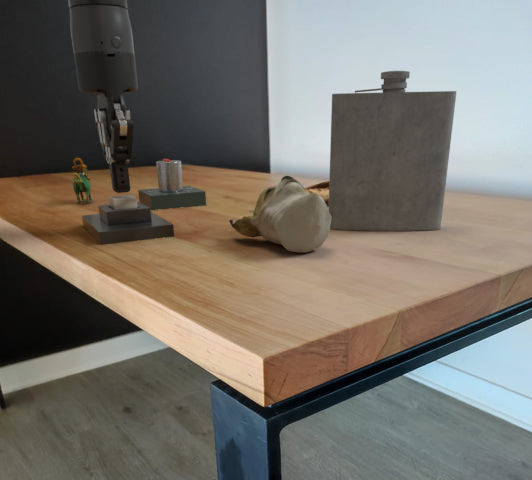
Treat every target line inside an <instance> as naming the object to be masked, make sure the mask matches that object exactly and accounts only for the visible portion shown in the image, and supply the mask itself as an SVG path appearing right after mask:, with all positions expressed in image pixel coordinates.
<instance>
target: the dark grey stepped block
mask: <svg viewBox="0 0 532 480" xmlns="http://www.w3.org/2000/svg"><path fill="white" fill-rule="evenodd" d="M137 206H138V208H130V209H119V210H112V209H111V208H110V204H103V205H98V206H97V209H98V213H93V214H84V215H81V219H82V226H83V227H84V229H85V230H86V231H87V232H88V233H89V234H90V236H92V237H93V238H94V239H95V240H96V241H97V242H98V244H100V246H101V245H102V246H104V245H111V244H121V243H130V242H138V240H139V241H147V240H148V241H149V240H154V239H155V238H157V239H164V238H163V237H165V238H173V237H172V236H174V237H175V228H174V224H173V223H172V222H170V221H168V220H166V219H164V218H163V217H161V216H159V215H158V214H156V213H154V212H153V211H152V210H151V209H150V208H149V207H147V206H146V205H144V204H142V203H140V202H139V201H137ZM155 240H156V239H155Z"/></svg>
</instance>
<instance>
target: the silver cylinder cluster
mask: <svg viewBox="0 0 532 480" xmlns="http://www.w3.org/2000/svg"><path fill="white" fill-rule="evenodd" d="M155 164H156V174H157V176H156V177H157V184H158V188H159V191H161V192H176V191H182V190H183V186H184V181H183V169H182V161H181V160H178V159H169V158H162V160H157V161H156V162H155Z"/></svg>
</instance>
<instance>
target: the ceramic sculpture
mask: <svg viewBox="0 0 532 480" xmlns="http://www.w3.org/2000/svg"><path fill="white" fill-rule="evenodd" d="M305 188H306V187H305V186H304V184H303V183H301V182H300V181H299V180H297V179H296V178H294V177H293V176H291V175H284V176H283V177H281V180H280V182H279V183H278V184H277V185H272V186H269V187H266V188H265V189H263V191H261V193H260V194H259V195H258V198H257V201H256V203H255V207H254V210H253V211H252V215H253V216H252V215H249V216H243V217H241V218H238V219H229V220H228V221H229V223H230V225H231V227H232V229H233V230H235V231H236V232H237V233H239V234H241V236H244V237H247V238H258V237H262V238H263V239H265V240H266V241H268V242H270V243H273V244H276V245H282V246H283V248H284V249H285V250H287V251H288V252H291V253H300V254H301V253H302V254H304V253H305V254H306V253H309V252H311V251H313V250H316V249H319V248H320V247H322V245H324V243H325V242H326V240H327V238H328V236H329V234H330V231H331V228H330V225H331V215H330V214H329V206H328V205H326V203H325V202H324V200H323V198H321V197H320V196H319V195H318V194H317V193H316V192H314V193H311V194H309V195H308V194H307V193H306V191H305Z"/></svg>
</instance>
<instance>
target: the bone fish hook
mask: <svg viewBox="0 0 532 480" xmlns="http://www.w3.org/2000/svg"><path fill="white" fill-rule="evenodd" d="M304 188H305V191H306V193H307V194H308V195H309V194H311V193H314V192H316V193H317V194H318V195H319V196H320V197H321V198H323V200H324V202H325V203H326V205H327V206H329V180H327V181H323V182H319V183H316V184H313V185H309V186H307V187H304Z"/></svg>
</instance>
